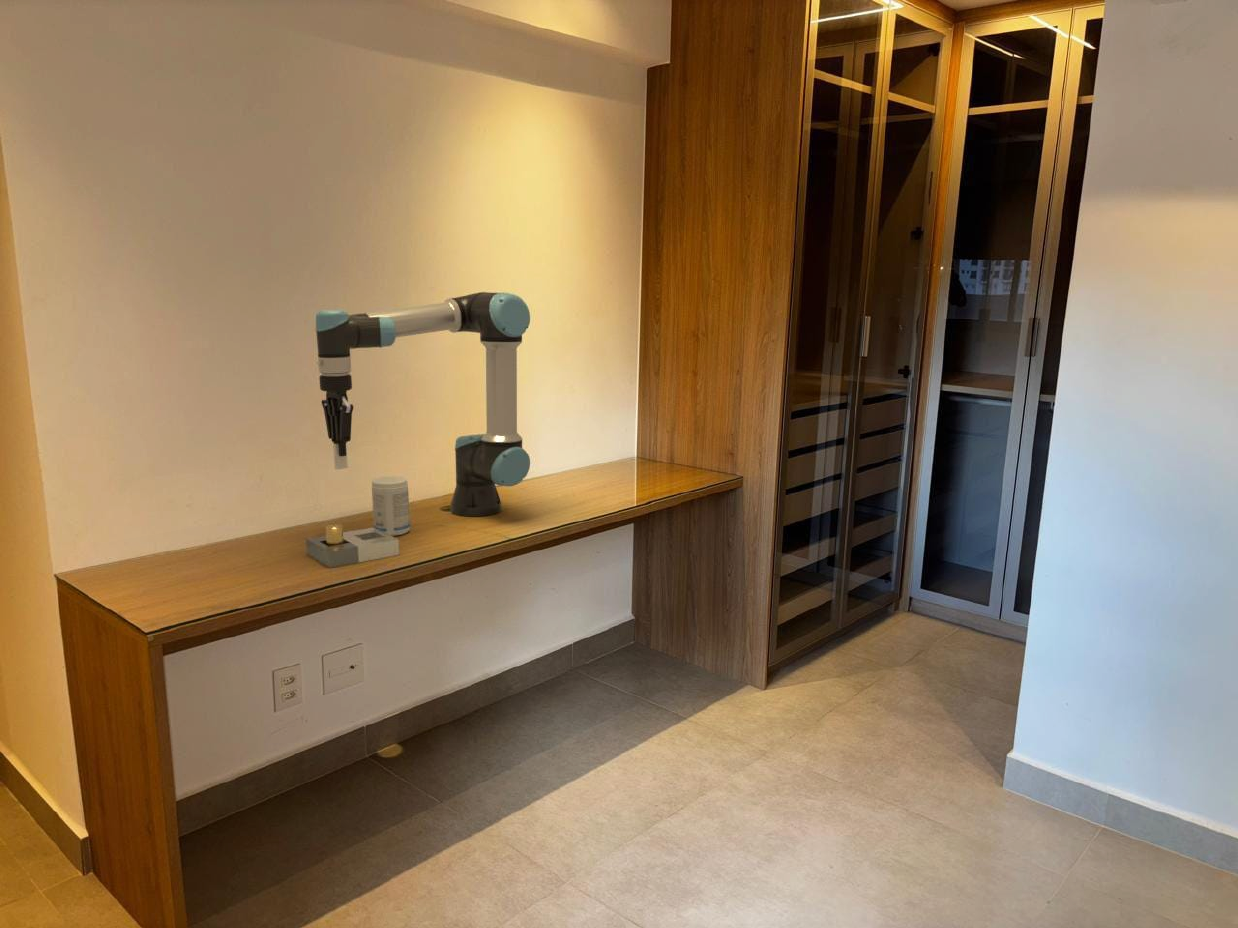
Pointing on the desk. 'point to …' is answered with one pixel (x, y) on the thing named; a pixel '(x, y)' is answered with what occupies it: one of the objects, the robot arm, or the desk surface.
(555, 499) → the desk surface
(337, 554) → the block
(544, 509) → the desk surface
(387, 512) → the supplement tub
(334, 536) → the amber translucent cylinder
